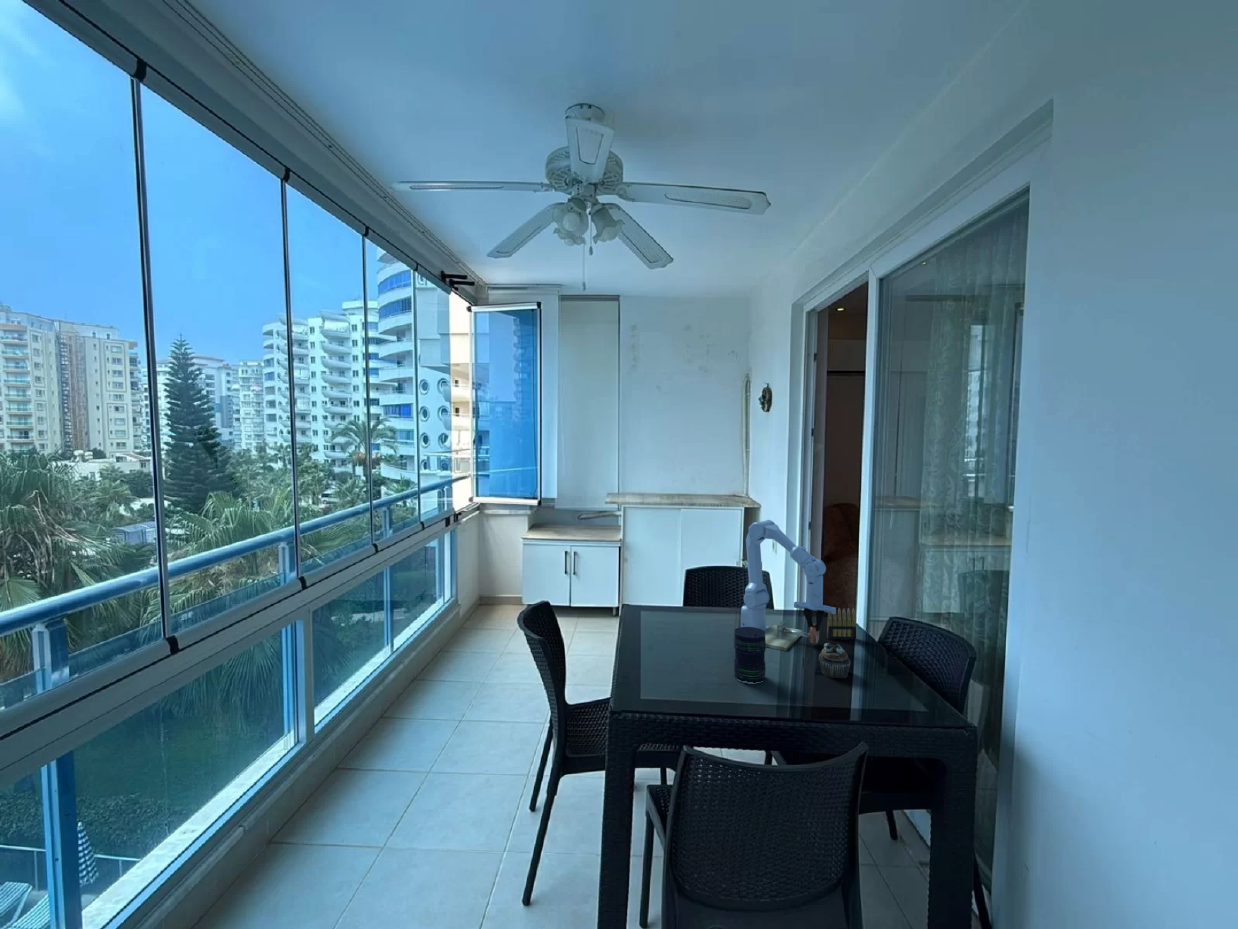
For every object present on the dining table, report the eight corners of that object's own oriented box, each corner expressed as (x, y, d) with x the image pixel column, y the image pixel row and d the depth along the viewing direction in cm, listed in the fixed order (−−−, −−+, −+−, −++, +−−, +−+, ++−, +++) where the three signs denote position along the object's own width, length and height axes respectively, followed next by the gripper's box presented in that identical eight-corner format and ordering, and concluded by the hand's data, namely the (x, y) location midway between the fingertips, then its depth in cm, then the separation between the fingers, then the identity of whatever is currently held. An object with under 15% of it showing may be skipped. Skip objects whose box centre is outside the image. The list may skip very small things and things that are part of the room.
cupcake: (853, 681, 175) (853, 650, 175) (821, 678, 177) (821, 647, 177) (847, 669, 184) (847, 639, 184) (816, 666, 186) (816, 637, 186)
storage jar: (727, 674, 180) (727, 629, 180) (752, 669, 184) (752, 625, 184) (746, 687, 171) (746, 639, 171) (772, 681, 175) (772, 634, 174)
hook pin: (781, 640, 209) (781, 621, 208) (787, 634, 214) (787, 616, 214) (814, 646, 202) (814, 627, 202) (819, 640, 208) (819, 622, 208)
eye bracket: (753, 644, 207) (753, 628, 207) (772, 627, 225) (772, 612, 225) (786, 651, 200) (786, 634, 200) (802, 633, 219) (802, 617, 218)
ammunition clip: (854, 638, 213) (855, 607, 213) (856, 640, 211) (857, 608, 211) (826, 637, 214) (826, 606, 213) (827, 639, 212) (828, 608, 212)
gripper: (791, 592, 205) (791, 629, 206) (832, 598, 197) (832, 636, 198) (797, 588, 211) (796, 624, 212) (837, 594, 203) (836, 631, 204)
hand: (814, 629), depth 205 cm, fingers closed on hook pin, 2 cm apart
